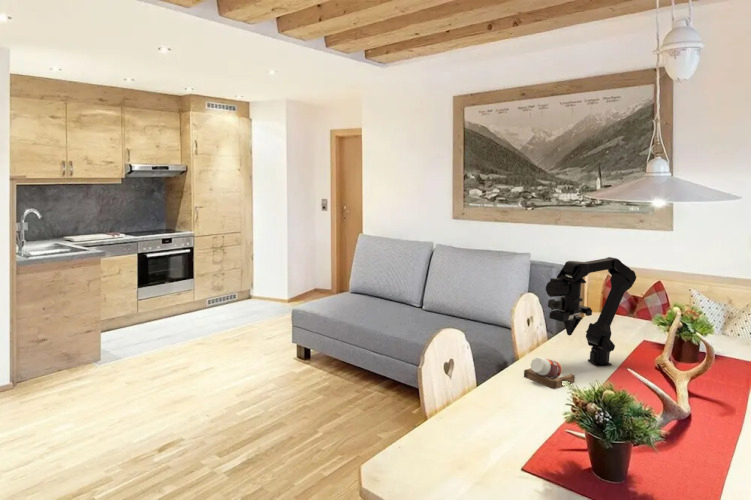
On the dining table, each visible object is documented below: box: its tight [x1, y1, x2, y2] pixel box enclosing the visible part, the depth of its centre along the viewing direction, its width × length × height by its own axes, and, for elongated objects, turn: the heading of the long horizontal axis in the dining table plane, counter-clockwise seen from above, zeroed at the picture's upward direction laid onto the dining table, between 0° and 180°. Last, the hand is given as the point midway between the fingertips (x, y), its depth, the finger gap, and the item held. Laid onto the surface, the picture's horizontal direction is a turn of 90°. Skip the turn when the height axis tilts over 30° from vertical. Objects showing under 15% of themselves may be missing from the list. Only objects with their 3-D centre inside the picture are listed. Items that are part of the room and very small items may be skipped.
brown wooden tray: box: [523, 367, 576, 390], centre depth 188 cm, size 12×13×2 cm
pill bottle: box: [530, 357, 563, 379], centre depth 186 cm, size 6×6×11 cm
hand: (569, 335), depth 198 cm, fingers closed
